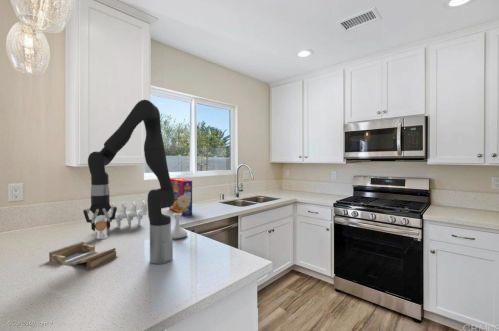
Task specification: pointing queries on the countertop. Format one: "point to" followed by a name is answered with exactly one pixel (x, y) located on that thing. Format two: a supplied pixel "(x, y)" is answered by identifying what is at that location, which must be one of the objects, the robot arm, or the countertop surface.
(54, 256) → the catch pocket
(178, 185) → the cereal box
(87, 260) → the ramp
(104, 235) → the beer glass
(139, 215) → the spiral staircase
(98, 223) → the ball
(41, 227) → the countertop surface
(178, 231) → the flower in vase
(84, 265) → the mat
